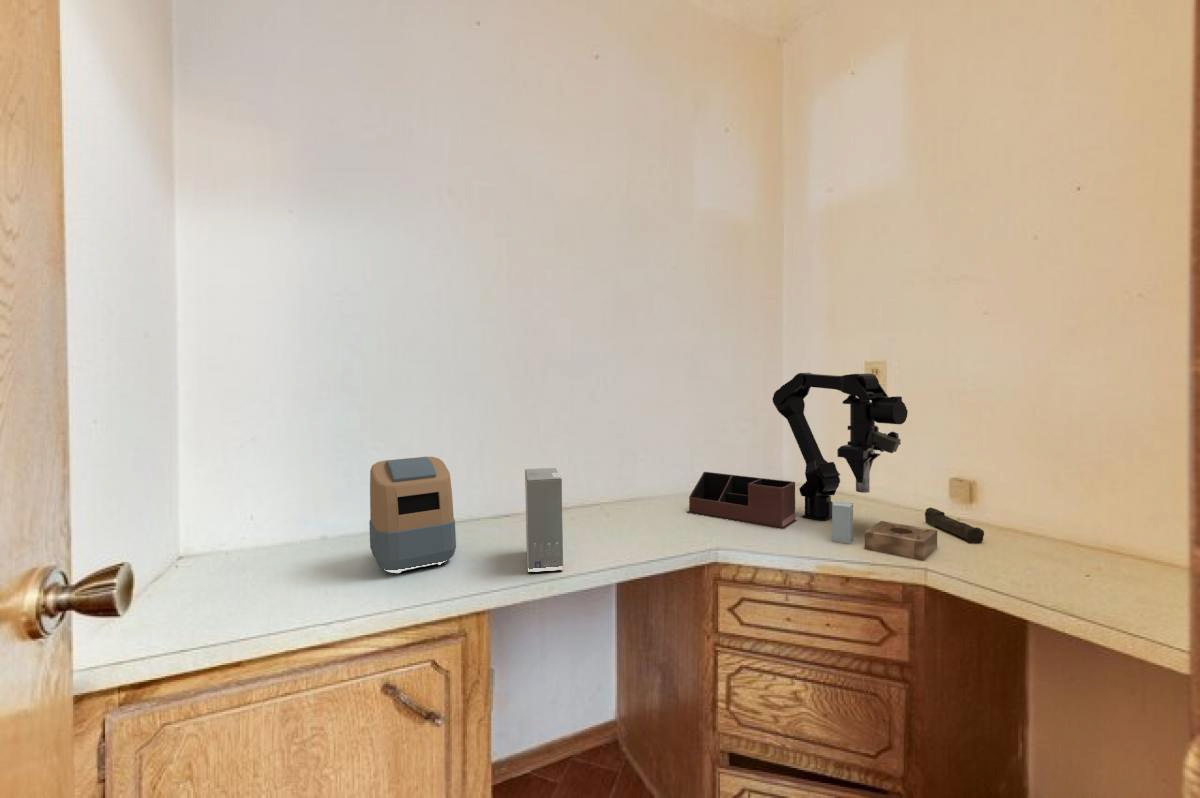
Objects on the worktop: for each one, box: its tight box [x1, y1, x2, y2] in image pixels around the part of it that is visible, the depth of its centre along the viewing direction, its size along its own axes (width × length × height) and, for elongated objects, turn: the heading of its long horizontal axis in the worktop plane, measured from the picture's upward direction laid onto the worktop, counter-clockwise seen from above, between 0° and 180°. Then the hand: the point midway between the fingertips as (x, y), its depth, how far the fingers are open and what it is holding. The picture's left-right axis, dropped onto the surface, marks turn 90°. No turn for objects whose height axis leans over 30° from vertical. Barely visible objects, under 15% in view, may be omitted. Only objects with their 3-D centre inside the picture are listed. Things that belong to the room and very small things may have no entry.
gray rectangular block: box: [831, 501, 854, 545], centre depth 129 cm, size 4×4×9 cm
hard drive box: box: [524, 467, 564, 569], centre depth 118 cm, size 16×8×20 cm, turn 9°
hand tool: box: [924, 507, 985, 544], centre depth 134 cm, size 19×4×5 cm, turn 179°
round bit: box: [855, 460, 871, 494], centre depth 137 cm, size 3×3×9 cm
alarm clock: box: [369, 456, 457, 570], centre depth 119 cm, size 17×17×23 cm
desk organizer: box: [686, 471, 798, 530], centre depth 152 cm, size 10×29×11 cm, turn 51°
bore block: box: [864, 520, 938, 561], centre depth 123 cm, size 12×12×4 cm
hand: (862, 481), depth 137 cm, fingers closed on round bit, 3 cm apart
